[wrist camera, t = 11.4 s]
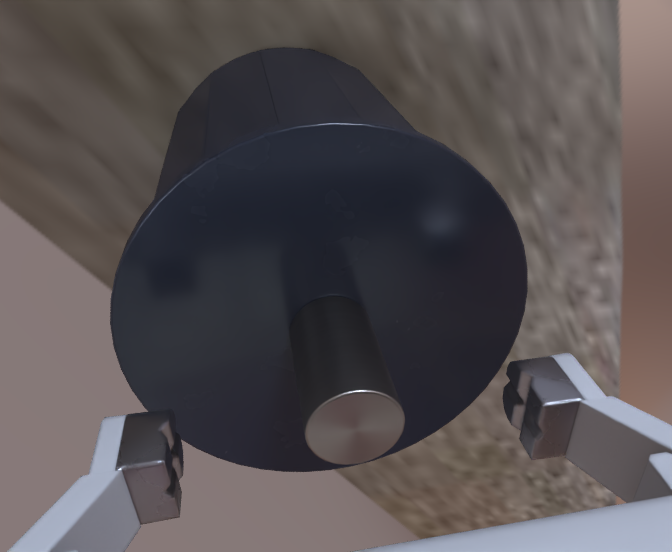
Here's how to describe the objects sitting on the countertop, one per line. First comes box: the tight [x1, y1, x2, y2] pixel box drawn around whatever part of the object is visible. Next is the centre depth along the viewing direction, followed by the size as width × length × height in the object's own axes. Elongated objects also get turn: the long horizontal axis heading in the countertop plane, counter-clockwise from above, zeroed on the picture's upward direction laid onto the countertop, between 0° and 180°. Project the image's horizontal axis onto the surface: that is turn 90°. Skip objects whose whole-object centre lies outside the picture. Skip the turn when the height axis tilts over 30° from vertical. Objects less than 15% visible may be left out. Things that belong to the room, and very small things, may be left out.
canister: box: [154, 47, 416, 199], centre depth 23 cm, size 11×11×12 cm
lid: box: [110, 117, 527, 472], centre depth 16 cm, size 12×12×5 cm
